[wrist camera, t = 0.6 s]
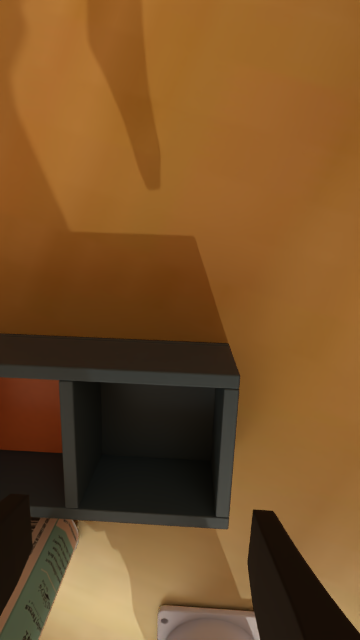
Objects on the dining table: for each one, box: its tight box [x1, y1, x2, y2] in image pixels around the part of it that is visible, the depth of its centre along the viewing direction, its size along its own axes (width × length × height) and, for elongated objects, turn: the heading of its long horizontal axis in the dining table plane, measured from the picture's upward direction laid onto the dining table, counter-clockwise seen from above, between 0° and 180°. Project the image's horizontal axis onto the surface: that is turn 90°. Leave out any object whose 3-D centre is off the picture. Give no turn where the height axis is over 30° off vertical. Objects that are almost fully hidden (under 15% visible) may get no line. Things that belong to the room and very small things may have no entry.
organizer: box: [0, 334, 240, 529], centre depth 18 cm, size 8×16×5 cm, turn 88°
